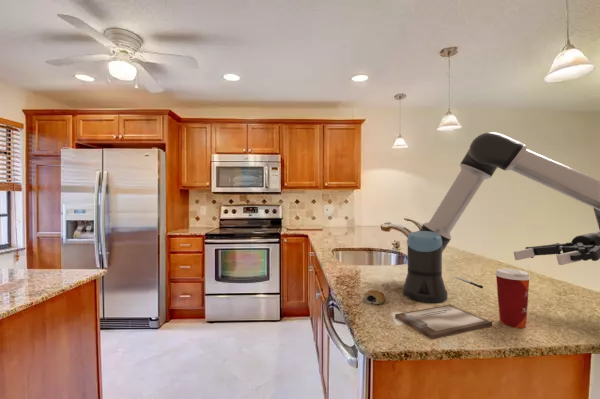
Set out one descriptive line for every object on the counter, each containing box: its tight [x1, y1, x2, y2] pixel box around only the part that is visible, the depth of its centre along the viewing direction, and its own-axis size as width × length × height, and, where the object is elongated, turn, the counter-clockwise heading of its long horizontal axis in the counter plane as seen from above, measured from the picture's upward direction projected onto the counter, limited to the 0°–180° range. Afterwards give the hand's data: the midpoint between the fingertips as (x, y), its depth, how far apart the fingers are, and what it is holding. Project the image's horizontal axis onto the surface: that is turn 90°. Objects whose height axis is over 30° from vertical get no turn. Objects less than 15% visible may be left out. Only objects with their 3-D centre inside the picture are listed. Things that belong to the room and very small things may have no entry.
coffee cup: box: [494, 267, 532, 329], centre depth 80 cm, size 8×8×15 cm
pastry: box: [362, 289, 386, 305], centre depth 99 cm, size 9×7×4 cm
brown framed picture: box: [394, 304, 493, 340], centre depth 81 cm, size 14×22×2 cm, turn 110°
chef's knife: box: [454, 276, 484, 289], centre depth 122 cm, size 19×1×3 cm
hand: (535, 257), depth 84 cm, fingers open, 13 cm apart
